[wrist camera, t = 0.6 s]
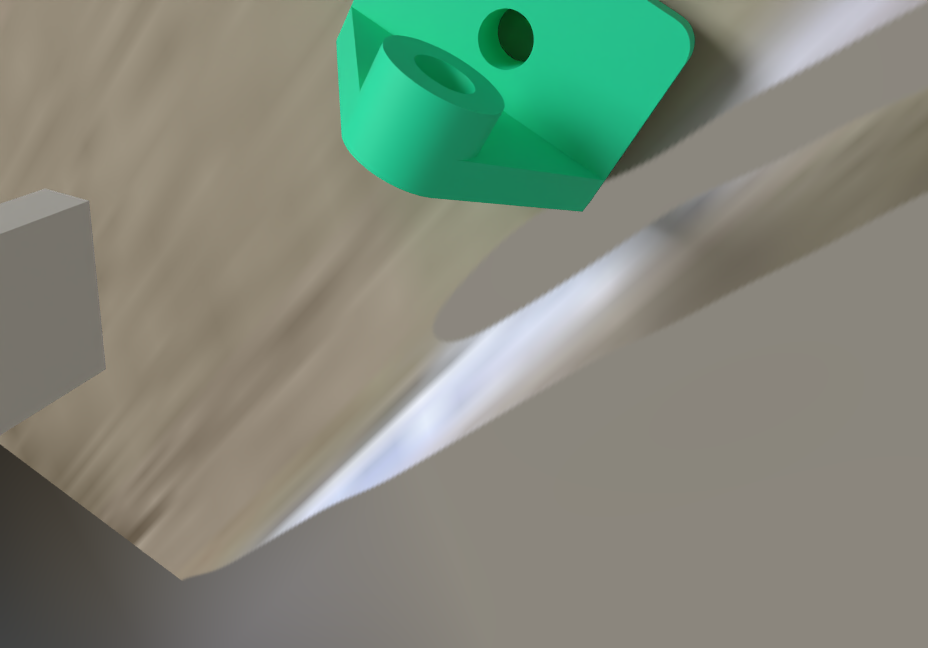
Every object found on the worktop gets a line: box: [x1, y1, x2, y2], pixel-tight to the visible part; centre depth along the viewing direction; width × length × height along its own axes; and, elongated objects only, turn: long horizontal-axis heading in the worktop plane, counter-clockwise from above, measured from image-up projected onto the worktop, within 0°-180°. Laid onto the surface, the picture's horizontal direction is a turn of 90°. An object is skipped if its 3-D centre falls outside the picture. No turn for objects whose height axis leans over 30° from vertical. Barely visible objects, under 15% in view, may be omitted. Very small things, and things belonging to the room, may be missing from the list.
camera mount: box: [336, 0, 695, 211], centre depth 28 cm, size 12×8×10 cm, turn 60°
